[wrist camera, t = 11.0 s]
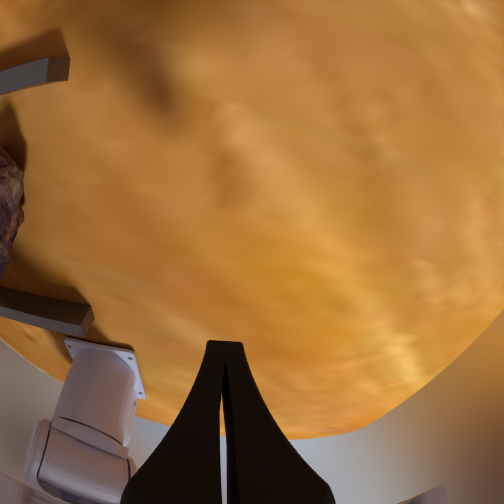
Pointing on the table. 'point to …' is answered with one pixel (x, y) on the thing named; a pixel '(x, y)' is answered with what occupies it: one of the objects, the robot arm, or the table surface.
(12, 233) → the rock
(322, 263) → the table surface
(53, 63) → the frame
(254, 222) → the table surface
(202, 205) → the table surface
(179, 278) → the table surface
